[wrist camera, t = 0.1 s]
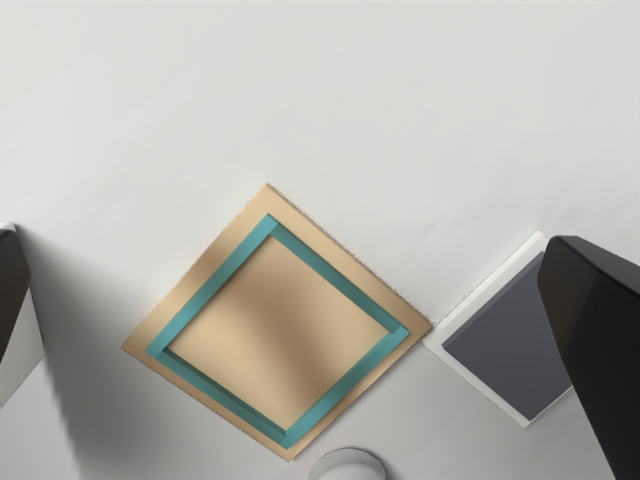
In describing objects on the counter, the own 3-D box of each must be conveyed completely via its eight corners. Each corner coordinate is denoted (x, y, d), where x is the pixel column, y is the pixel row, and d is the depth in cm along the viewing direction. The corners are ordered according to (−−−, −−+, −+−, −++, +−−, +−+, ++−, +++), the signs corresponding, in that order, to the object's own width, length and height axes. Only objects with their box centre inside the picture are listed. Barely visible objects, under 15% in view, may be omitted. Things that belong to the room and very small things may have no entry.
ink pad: (519, 421, 29) (528, 434, 28) (422, 339, 27) (427, 350, 26) (632, 324, 28) (646, 335, 27) (538, 230, 26) (548, 237, 25)
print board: (288, 454, 29) (288, 469, 28) (124, 342, 26) (117, 353, 25) (429, 321, 27) (434, 331, 26) (266, 182, 24) (265, 187, 23)
